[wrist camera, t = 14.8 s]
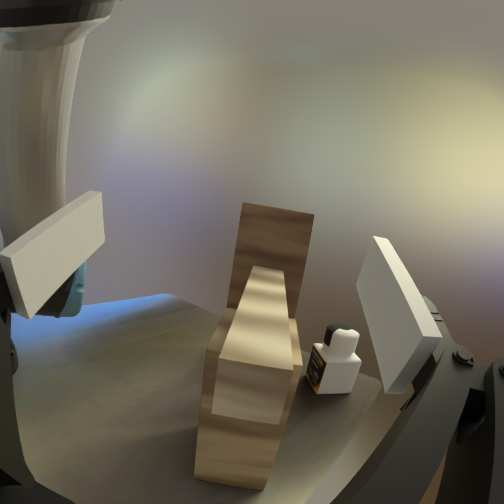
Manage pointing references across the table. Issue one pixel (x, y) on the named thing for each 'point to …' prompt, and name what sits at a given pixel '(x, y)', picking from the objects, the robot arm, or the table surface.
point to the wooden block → (256, 353)
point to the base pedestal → (238, 425)
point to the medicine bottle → (334, 361)
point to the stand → (271, 249)
